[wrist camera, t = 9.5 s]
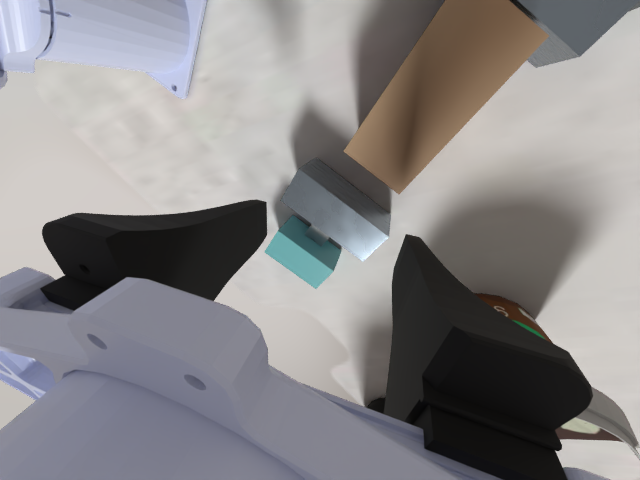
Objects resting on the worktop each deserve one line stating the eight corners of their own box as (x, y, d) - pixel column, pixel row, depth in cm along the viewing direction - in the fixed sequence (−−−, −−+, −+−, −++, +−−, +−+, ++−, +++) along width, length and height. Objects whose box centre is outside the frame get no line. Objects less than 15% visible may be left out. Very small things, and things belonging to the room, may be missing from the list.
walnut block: (359, 137, 18) (343, 151, 13) (444, 14, 13) (469, -36, 9) (399, 169, 18) (399, 194, 13) (495, 59, 14) (549, 35, 9)
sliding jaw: (272, 229, 25) (252, 249, 21) (316, 157, 19) (298, 168, 16) (332, 273, 25) (322, 299, 22) (390, 214, 20) (388, 237, 17)
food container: (534, 265, 19) (639, 393, 11) (555, 318, 21) (659, 463, 12) (391, 302, 25) (387, 401, 17) (416, 340, 27) (424, 448, 18)
